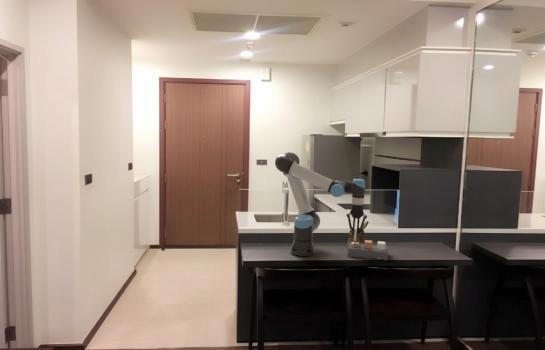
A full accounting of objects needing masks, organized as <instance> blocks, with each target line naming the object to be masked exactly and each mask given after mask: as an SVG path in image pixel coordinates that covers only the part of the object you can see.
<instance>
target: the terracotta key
mask: <svg viewBox="0 0 545 350" xmlns="http://www.w3.org/2000/svg"><path fill="white" fill-rule="evenodd" d="M364 244H365V245H364V248H366V249H372V245H373V240H371V239H370V240H369V239H368V240H367V239H364Z"/></svg>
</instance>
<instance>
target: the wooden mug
mask: <svg viewBox="0 0 545 350" xmlns="http://www.w3.org/2000/svg"><path fill="white" fill-rule="evenodd" d="M369 223H370V222H369V221H364V224H363V227H362V230H359V233H358V236H356V241H354V235H352V229H350V230H349V232H348V239H347V243H346V247H347V248H348V246H349V243H352V242H359V244H361V242H362V240H363V238H364V236H365V228H367V227H368V225H369ZM360 235H361V236H360Z"/></svg>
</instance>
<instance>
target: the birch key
mask: <svg viewBox="0 0 545 350" xmlns="http://www.w3.org/2000/svg"><path fill="white" fill-rule="evenodd" d="M351 247H356V248H359V242H352V244H351Z"/></svg>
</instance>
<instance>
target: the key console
mask: <svg viewBox="0 0 545 350" xmlns="http://www.w3.org/2000/svg"><path fill="white" fill-rule="evenodd" d="M351 244H352V243H349V246H348V247H347V257H351V256H354V258H360V257H366V258H365V259H370V258H381V259H389V248H388V246H386V245H385V250H377V246H378V245H374V244H372V249H366V248H364V245H365V243H364V244H363V243H360V244H359V248H356V247H351Z"/></svg>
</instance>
